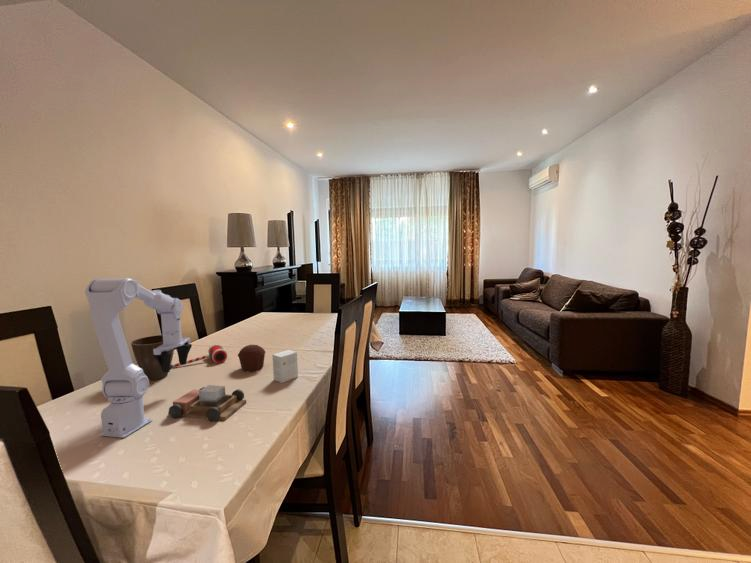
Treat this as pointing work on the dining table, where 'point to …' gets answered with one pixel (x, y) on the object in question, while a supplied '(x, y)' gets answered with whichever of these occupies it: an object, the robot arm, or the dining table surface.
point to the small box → (285, 366)
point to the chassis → (191, 406)
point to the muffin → (251, 358)
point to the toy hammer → (214, 352)
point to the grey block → (212, 396)
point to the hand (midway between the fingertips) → (174, 367)
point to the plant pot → (149, 356)
